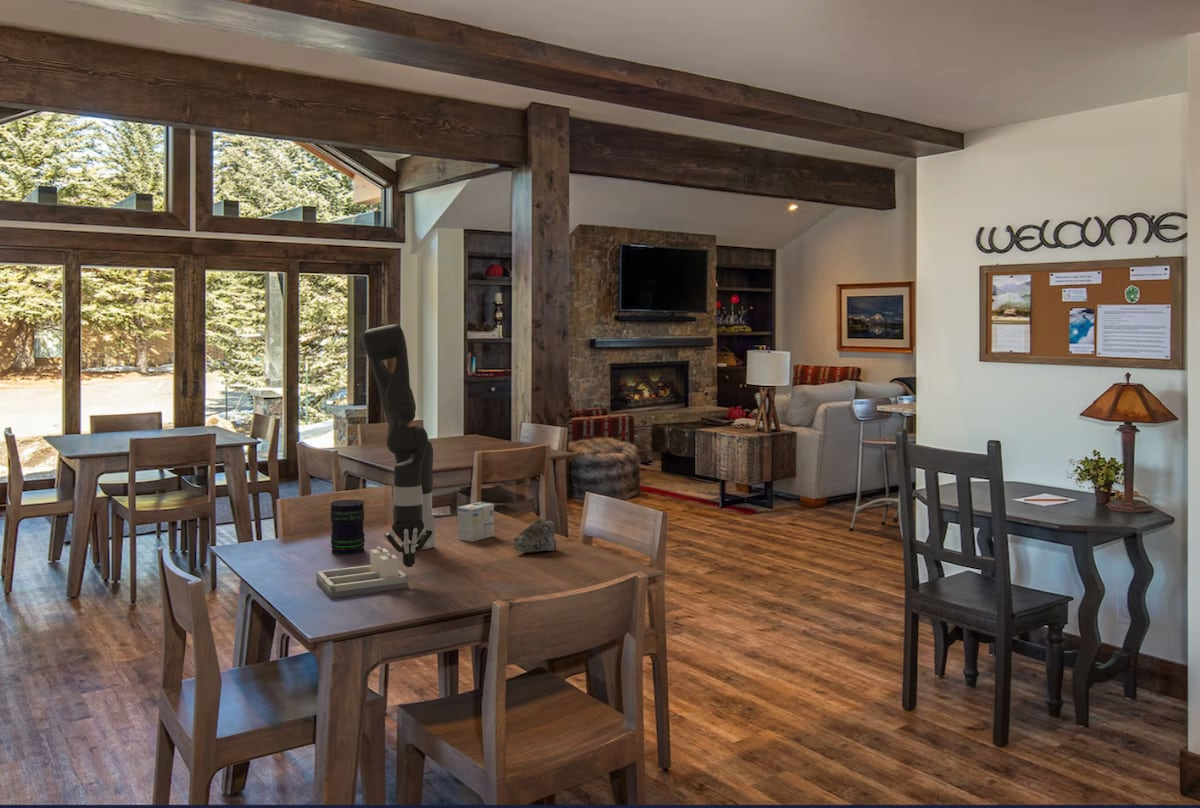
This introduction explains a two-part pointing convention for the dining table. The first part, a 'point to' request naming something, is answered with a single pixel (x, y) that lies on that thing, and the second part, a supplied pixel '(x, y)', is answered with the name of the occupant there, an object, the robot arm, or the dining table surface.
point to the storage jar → (347, 527)
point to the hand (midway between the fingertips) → (408, 566)
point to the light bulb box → (475, 521)
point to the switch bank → (357, 581)
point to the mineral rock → (536, 537)
